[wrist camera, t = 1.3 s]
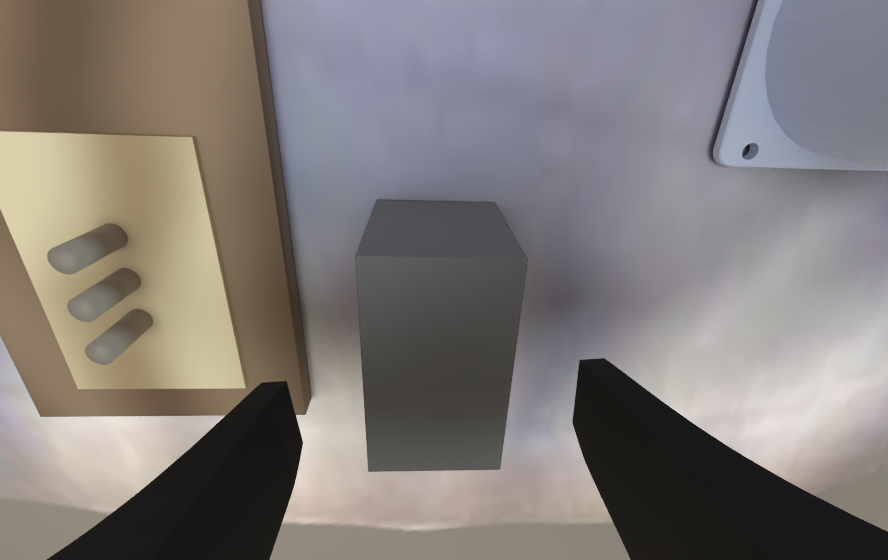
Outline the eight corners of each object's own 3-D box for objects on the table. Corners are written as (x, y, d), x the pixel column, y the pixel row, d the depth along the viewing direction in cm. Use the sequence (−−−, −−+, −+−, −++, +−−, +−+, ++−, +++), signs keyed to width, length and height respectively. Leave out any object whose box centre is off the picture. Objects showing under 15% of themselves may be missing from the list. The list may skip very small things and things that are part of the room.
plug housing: (494, 202, 14) (527, 258, 10) (479, 368, 17) (500, 469, 13) (376, 199, 14) (355, 255, 10) (382, 368, 17) (368, 471, 13)
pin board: (217, -333, 9) (119, -529, 6) (311, 397, 18) (289, 460, 15) (-299, -382, 8) (-678, -625, 5) (60, 398, 17) (-14, 464, 14)
